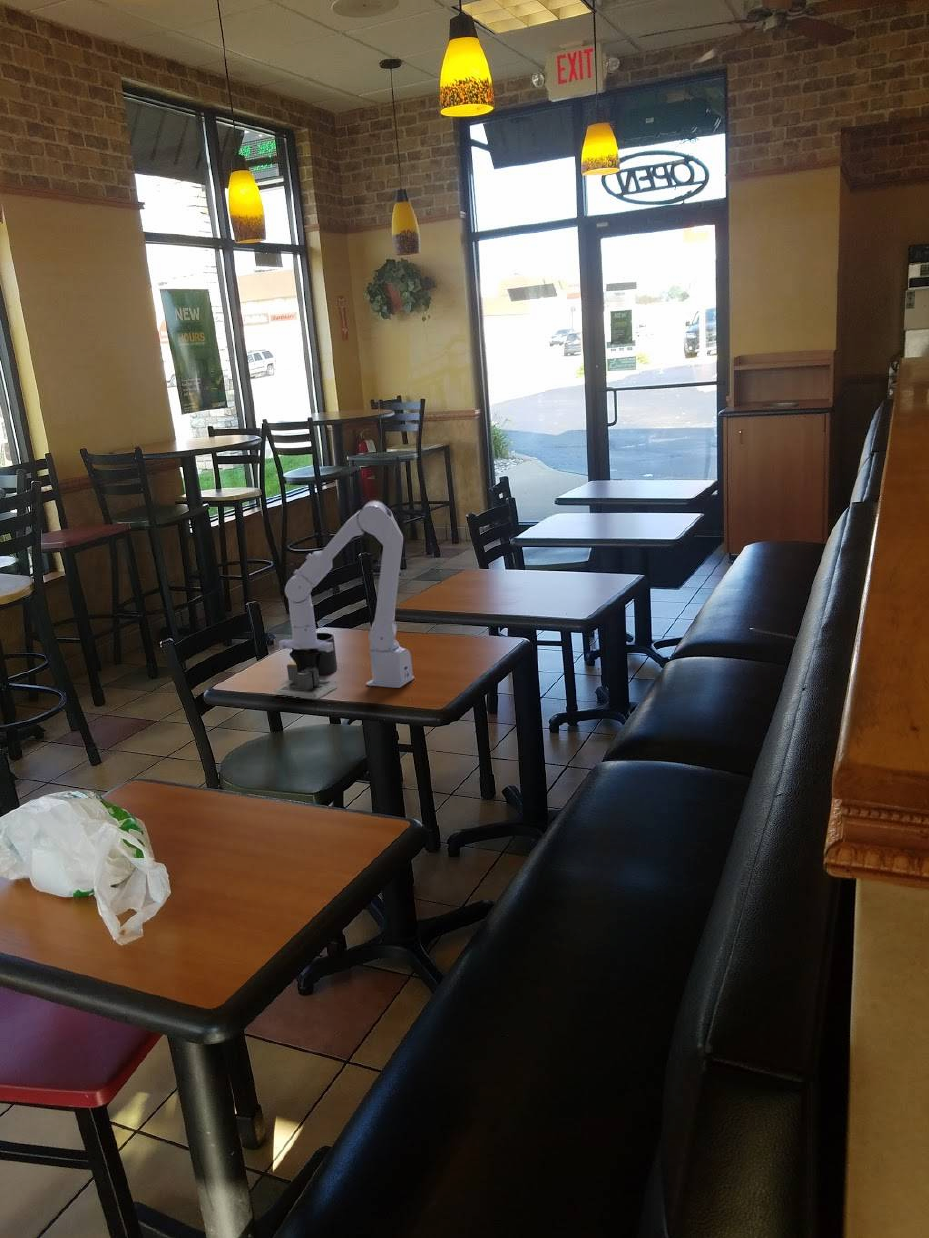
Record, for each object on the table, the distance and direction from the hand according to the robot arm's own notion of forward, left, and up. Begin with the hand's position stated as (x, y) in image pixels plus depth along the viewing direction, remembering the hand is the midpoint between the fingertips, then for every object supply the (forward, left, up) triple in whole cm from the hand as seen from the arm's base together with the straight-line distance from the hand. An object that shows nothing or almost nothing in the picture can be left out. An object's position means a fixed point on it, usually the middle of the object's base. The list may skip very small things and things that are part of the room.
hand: (310, 677), depth 235 cm
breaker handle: (+4, 0, -1) cm, 4 cm away
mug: (+6, -13, -3) cm, 15 cm away
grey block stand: (0, +3, -3) cm, 4 cm away
